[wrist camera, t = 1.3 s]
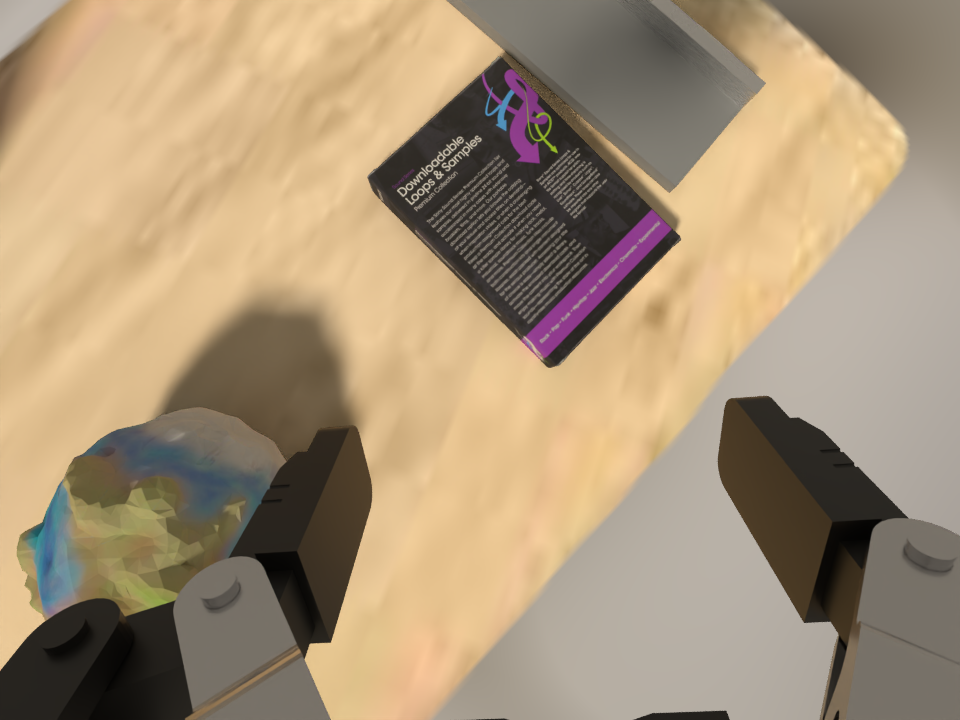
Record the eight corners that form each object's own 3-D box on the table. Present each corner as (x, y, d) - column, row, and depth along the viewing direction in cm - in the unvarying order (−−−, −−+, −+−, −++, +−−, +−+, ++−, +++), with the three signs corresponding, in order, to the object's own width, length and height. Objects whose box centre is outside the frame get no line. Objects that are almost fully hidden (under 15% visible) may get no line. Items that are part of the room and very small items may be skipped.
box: (663, 251, 42) (495, 77, 41) (685, 238, 38) (502, 47, 38) (544, 371, 40) (368, 190, 40) (556, 369, 37) (363, 170, 36)
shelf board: (402, -38, 41) (401, -51, 40) (484, -120, 42) (485, -135, 41) (669, 192, 41) (676, 186, 40) (742, 105, 42) (751, 96, 41)
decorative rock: (153, 411, 22) (-169, 615, 21) (366, 651, 27) (110, 830, 26) (232, 351, 35) (37, 474, 34) (365, 518, 40) (197, 632, 39)
